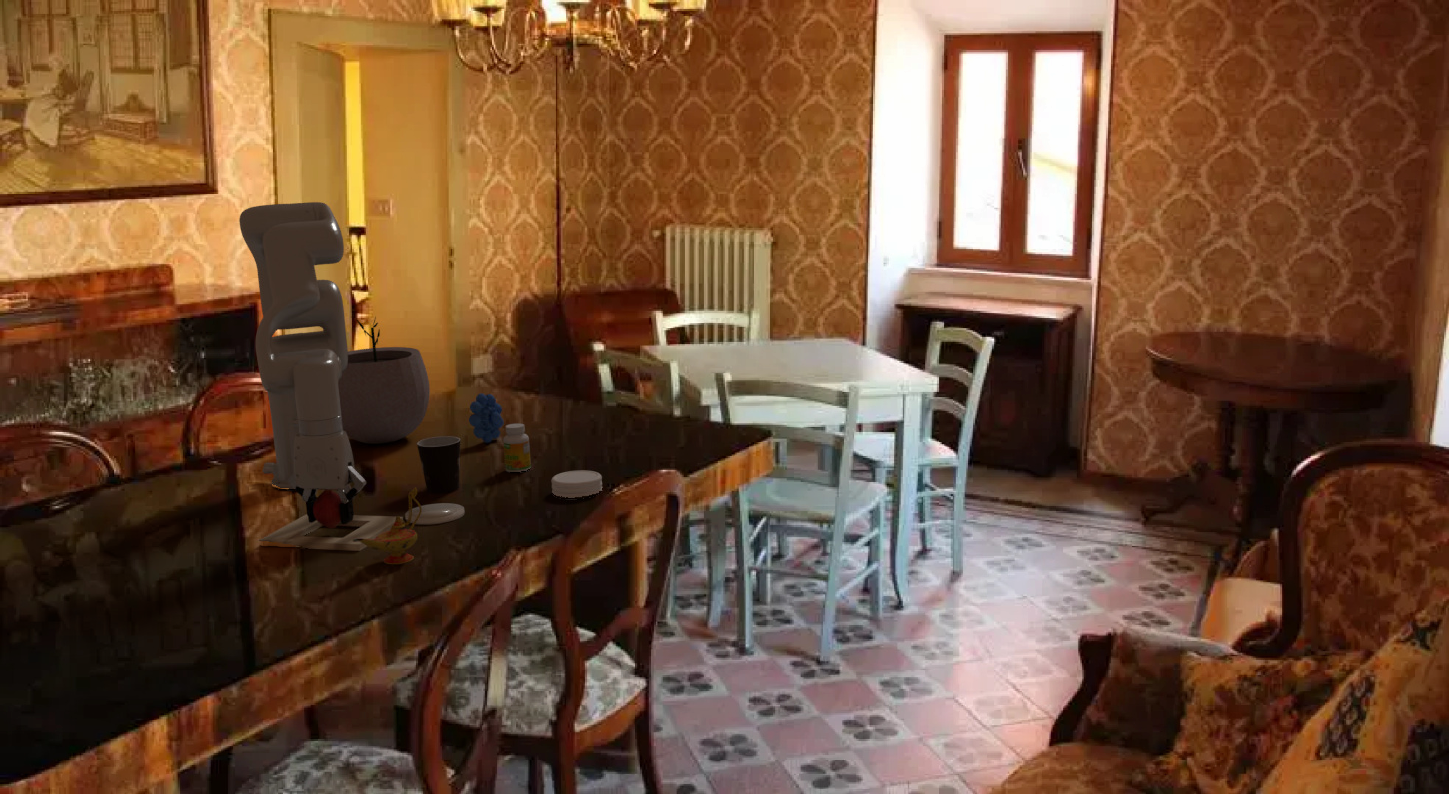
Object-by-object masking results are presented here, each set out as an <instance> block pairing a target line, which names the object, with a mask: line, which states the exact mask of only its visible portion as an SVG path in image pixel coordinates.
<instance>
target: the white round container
mask: <svg viewBox="0 0 1449 794" xmlns="http://www.w3.org/2000/svg"><path fill="white" fill-rule="evenodd" d="M602 479H603V476H602V474H600V473H599V472H597V471H593V470H582V469H581V470H579V469H578V470H569V471H565V472H560V473H557V474H555V475H554V476H552V478H551V481H550V482H551V489H552V491H551V493H553V494H554V495H556V496H560V497H561V496H562V497H565V498H566V497H568V498H575V497H582V496H589V495H592V494H596V493H599V491H603V490H602V488H603V481H602ZM553 494H552V495H553ZM554 495H553V496H554Z"/></svg>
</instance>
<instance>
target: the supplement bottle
mask: <svg viewBox="0 0 1449 794" xmlns="http://www.w3.org/2000/svg"><path fill="white" fill-rule="evenodd" d="M525 431H526V428H525V424H523V423H510V424H507V425H505V433H506V435H505V436H504V437H503V439H502V440H503V443H502V444H503V454H504V466H505V471H506V472H507V473H510V472H520V473H522V472H521V471H526V472H528V471H529V470H528V469H530V468H532V461H531V452H530V451H531V450H530V448H531V447H530V438H529V436H528V434H526V433H525ZM527 470H528V471H527ZM530 470H531V469H530Z"/></svg>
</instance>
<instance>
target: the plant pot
mask: <svg viewBox="0 0 1449 794" xmlns="http://www.w3.org/2000/svg"><path fill="white" fill-rule="evenodd" d="M376 319H377V317H376V316H375V318H374V319H373V321H374V322H373V324H372V327H370V332H371V334H370V333H369V332H368V331H367V330H365V327H364V325H363V323H361V322H360V321H359V320H358V319H357V320H356V322H357V324H358V326H359V327H360V328H361V329H362V330H363V332H364V334H365V336H369V338H371V341H372V347H370V348H361V349H360V348H359V349H354V350H349V351H348V365H347V368H346V370H345V371H344V372H343V373H342V376H341V378H340V379H339V382H338V388H339V398H340V408H341V416H342V426H343V431H346V433H347V436H348V438H350V439H352V440H354V441H358V442H361V443H364V444H371V445H372V444H373V445H377V444H379V445H380V444H381V445H382V444H389V443H393V442H396V441H399V440H401V439H403V438H405V437H408V436H409V435H410V434H411V433H413V432H414V431H415V430H417V428H418V427H419V426H420V425H421V423H422V422H423V420H424V418H425V416H426V413H427V409H428V405H429V402H430V400H429V399H430V390H431V389H430V381H429V376H428V375H429V374H428V372H427V371H428V370H427V368H426V365H425V361H424V359H423V356H422V354H421V352H420V350H419V349H417V348H413V347H405V346H399V347H398V346H387V347H386V346H385V347H382V346H381V347H376V345H378V344H379V343H378V342H379V337H380V336H381V333H380V332H381V330H380V328H378V330H377V331H378V333H377V336H376V337H377V338H376V339H375V329H374V328H376V327H377V326H378V324H379V322H376ZM375 322H376V323H375Z"/></svg>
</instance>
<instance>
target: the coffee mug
mask: <svg viewBox="0 0 1449 794" xmlns="http://www.w3.org/2000/svg"><path fill="white" fill-rule="evenodd" d="M416 446H417V451H418V454H419V459H420V464H421V468H422V474H423V478H424V481H425V487H426V491H427V493H430V494H446V493H447V494H448V493H453V492H455V491H458V490H459V489H460V469H461V468H460V467H461V466H460V464H461V459H460V458H461V438H460V437H457V436H452V435H451V436H450V435H449V436H447V435H446V436H433V437H427V438H423V439H421V440H419V441H417V443H416ZM458 488H459V489H458Z"/></svg>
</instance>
